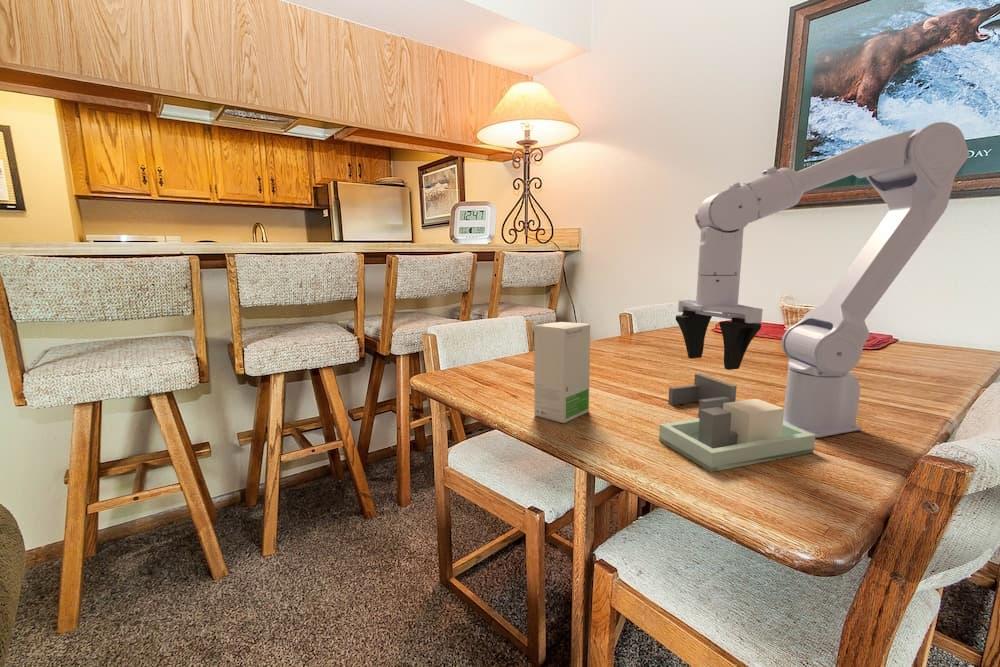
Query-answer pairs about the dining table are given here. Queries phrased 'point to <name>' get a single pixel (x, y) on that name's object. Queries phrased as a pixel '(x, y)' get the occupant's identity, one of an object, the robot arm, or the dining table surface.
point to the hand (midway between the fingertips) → (712, 363)
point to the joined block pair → (740, 423)
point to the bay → (703, 393)
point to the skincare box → (561, 370)
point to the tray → (734, 446)
